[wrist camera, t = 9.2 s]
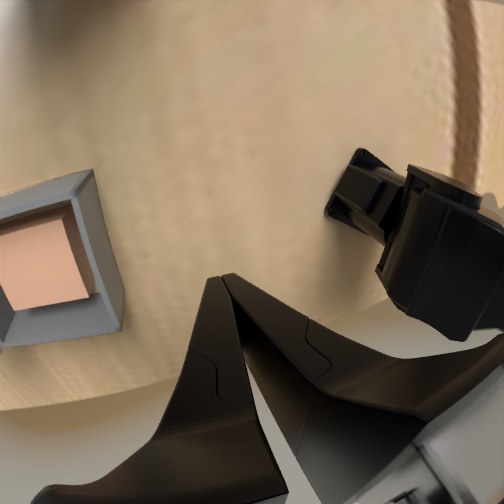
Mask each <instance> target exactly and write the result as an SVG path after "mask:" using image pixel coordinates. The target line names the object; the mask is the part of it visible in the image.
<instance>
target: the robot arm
mask: <svg viewBox="0 0 504 504" xmlns="http://www.w3.org/2000/svg"><path fill="white" fill-rule="evenodd" d="M362 152H363V154H362V156H361V153H362ZM407 171H408V173H407V177H404V176H401V175H399V174H397V173H396V172H394V171H393V170H392V169H391V168H389V167H388V166H387V165H386V164H384V163H383V162H382V161H380V160H379V159H378V158H377V157H375V156H374V155H373V154H371V153H370V152H369V151H367V150H366V149H364V148H358V149H357V150H356V152H355V154H354V156H353V158H352V160H351V162H350V164H349V166H348V167H347V169H346V171H345V173H344V175H343V176H342V178H341V180H340V182H339V184H338V186H337V188H336V189H335V191H334V193H333V195H332V197H331V199H330V201H329V202H328V204H327V206H326V208H325V212H326V214H328V215H329V216H331V217H333V218H335V219H337V220H339V221H341V222H343V223H345V224H347V225H349V226H351V227H353V228H355V229H357V230H359V231H361V232H363V233H365V234H367V235H369V236H371V237H373V238H374V239H375V240H377V241H378V242H379V243H380V244H382V245H383V246H384V247H385V248H384V251H383V253H382V256H381V259H380V262H379V264H377V266H376V269H375V272H376V274H377V275H378V277H379V279H380V281H381V282H382V284H383V286H384V288H385V290H386V293H387V295H388V297H389V298H390V299H391V300H392V302H393V303H394V304H395V306H396V307H397V308H398V309H399V310H401V311H402V312H404V313H405V314H406V315H407V316H410V317H413V318H416V319H418V320H421V321H423V322H424V323H426V324H429V325H430V326H432V327H433V328H434V329H436V330H438V331H439V332H440V333H441V334H443V335H444V336H445V337H447V338H448V339H449V340H453V341H460V342H464V341H466V340H467V339H468V337H469V335H470V334H471V332H472V331H479V330H491V329H498V330H499V331H501V332H503V333H502V334H499V335H497V336H496V337H494V338H493V339H492V340H491V341H489V342H488V343H486V344H484V345H482V346H479V347H476V348H473V349H469V350H464V351H458V352H453V353H447V354H440V355H434V356H427V357H420V358H412V359H401V358H395V357H391V356H388V355H386V354H383V353H381V352H378V351H376V350H374V349H371V348H369V347H367V346H364V345H362V344H360V343H357V342H355V341H353V340H351V339H348V338H346V337H344V336H342V335H339V334H338V333H335V332H334V331H332V330H330V329H328V328H326V327H324V326H322V325H321V324H319V323H317V322H315V321H314V320H312V319H310V320H309V318H308V317H307V316H305V315H303V314H302V313H300V312H298V311H297V310H295V309H293V308H291V307H290V306H288V305H286V304H285V303H283V302H281V301H280V300H278V299H276V298H275V297H273V296H271V295H270V294H268V293H266V292H265V291H263V290H261V289H260V288H258V287H256V286H255V285H253V284H251V283H250V282H248V281H246V280H245V279H243V278H241V277H240V276H238V275H237V274H235V273H230V274H225V275H222V276H221V277H220V276H216V277H211V278H208V279H207V281H206V285H205V288H204V292H203V295H202V299H201V302H200V306H199V310H198V313H197V317H196V320H195V324H194V328H193V332H192V335H191V339H190V343H189V347H188V350H187V354H186V357H185V361H184V364H183V368H182V371H181V374H180V376H179V379H178V382H177V384H176V387H175V389H174V391H173V394H172V396H171V398H170V400H169V403H168V405H167V408H166V410H165V412H164V414H163V417H162V419H161V421H160V423H159V426H158V428H157V430H156V431H155V433H154V435H153V436H152V438H151V439H150V440H149V441H148V442H147V443H146V444H145V445H144V446H143V447H141V448H140V449H139V450H138V451H136V452H135V453H134V454H133V455H131V456H130V457H129V458H128V459H127V460H125V461H124V462H122V463H121V464H120V465H119V466H118V467H116V468H115V469H114V470H112V471H111V472H110V473H108V474H107V475H105V476H104V477H102V478H101V479H99V480H97V481H94V482H92V483H88V484H83V485H61V484H54V485H48V486H46V487H44V488H43V489H42V490H41V491H40V492H39V493H38V494H37V495H36V496H35V497H34V499H33V500H32V501H31V503H30V504H285V502H286V499H287V496H288V493H289V491H288V488H287V485H286V482H285V480H284V478H283V476H282V473H281V471H280V469H279V466H278V464H277V462H276V459H275V457H274V455H273V452H272V450H271V448H270V446H269V443H268V441H267V438H266V436H265V434H264V431H263V429H262V426H261V424H260V421H259V418H258V414H257V410H256V406H255V402H254V398H253V393H252V389H251V385H250V381H249V376H248V372H247V368H246V363H247V365H248V367H249V369H250V371H251V373H252V375H253V377H254V379H255V381H256V383H257V385H258V387H259V389H260V391H261V393H262V395H263V397H264V399H265V401H266V403H267V405H268V407H269V409H270V411H271V413H272V415H273V417H274V418H275V421H276V422H277V424H278V426H279V428H280V430H281V432H282V433H283V435H284V437H285V439H286V441H287V443H288V445H289V447H290V448H291V450H292V452H293V454H294V456H295V457H296V460H297V461H298V463H299V465H300V467H301V469H302V470H303V472H304V474H305V476H306V477H307V479H308V481H309V483H310V484H311V486H312V488H313V489H314V491H315V493H316V494H317V496H318V498H319V500H320V501H321V503H322V504H352V503H354V502H356V501H358V503H359V504H504V221H503V219H502V218H501V217H500V216H499V215H498V214H496V213H494V212H493V211H491V210H488V209H487V208H485V207H483V206H481V202H482V199H483V197H482V196H481V195H480V194H478V193H477V192H476V191H474V190H473V189H471V188H470V187H468V186H467V185H466V184H464V183H461V182H459V181H457V180H455V179H452V178H450V177H448V176H445V175H443V174H440V173H437V172H434V171H431V170H427V169H424V168H421V167H418V166H414V165H411V164H408V168H407ZM332 208H333V209H332ZM331 209H332V211H331V212H330V210H331ZM245 361H246V363H245Z"/></svg>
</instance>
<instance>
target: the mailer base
mask: <svg viewBox="0 0 504 504" xmlns="http://www.w3.org/2000/svg"><path fill="white" fill-rule="evenodd" d="M123 302H124V286H123V283H122V280H121V277H120V274H119V271H118V267H117V264H116V261H115V257H114V254H113V251H112V247H111V244H110V240H109V236H108V233H107V229H106V225H105V221H104V217H103V213H102V209H101V205H100V201H99V196H98V192H97V187H96V182H95V177H94V172H93V169H89V170H85V171H81V172H77V173H73V174H70V175H66V176H62V177H59V178H55V179H52V180H48V181H45V182H41V183H38V184H35V185H32V186H28V187H25V188H22V189H19V190H16V191H13V192H10V193H7V194H5V195H2V196H0V345H1V347H2V348H5V347H14V346H23V345H31V344H39V343H47V342H54V341H62V340H69V339H75V338H82V337H89V336H95V335H101V334H107V333H113V332H119V331H122V320H123Z"/></svg>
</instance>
